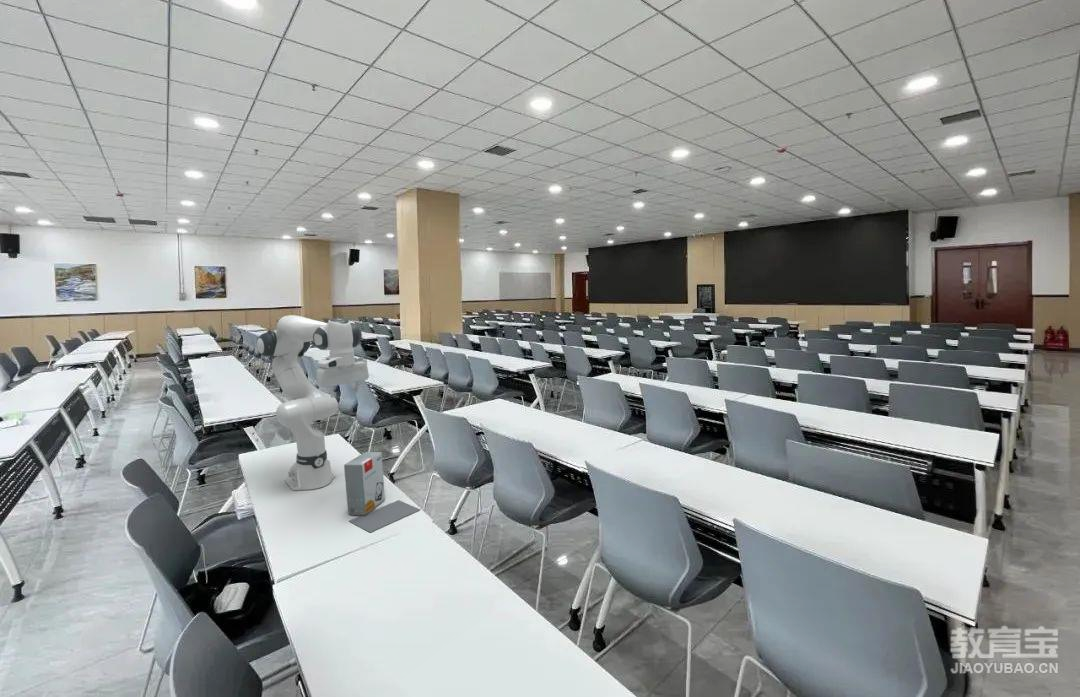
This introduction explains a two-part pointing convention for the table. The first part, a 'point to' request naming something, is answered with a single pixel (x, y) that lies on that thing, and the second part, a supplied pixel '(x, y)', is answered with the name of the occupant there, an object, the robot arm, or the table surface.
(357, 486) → the hard drive box
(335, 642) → the table surface
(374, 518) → the mat
